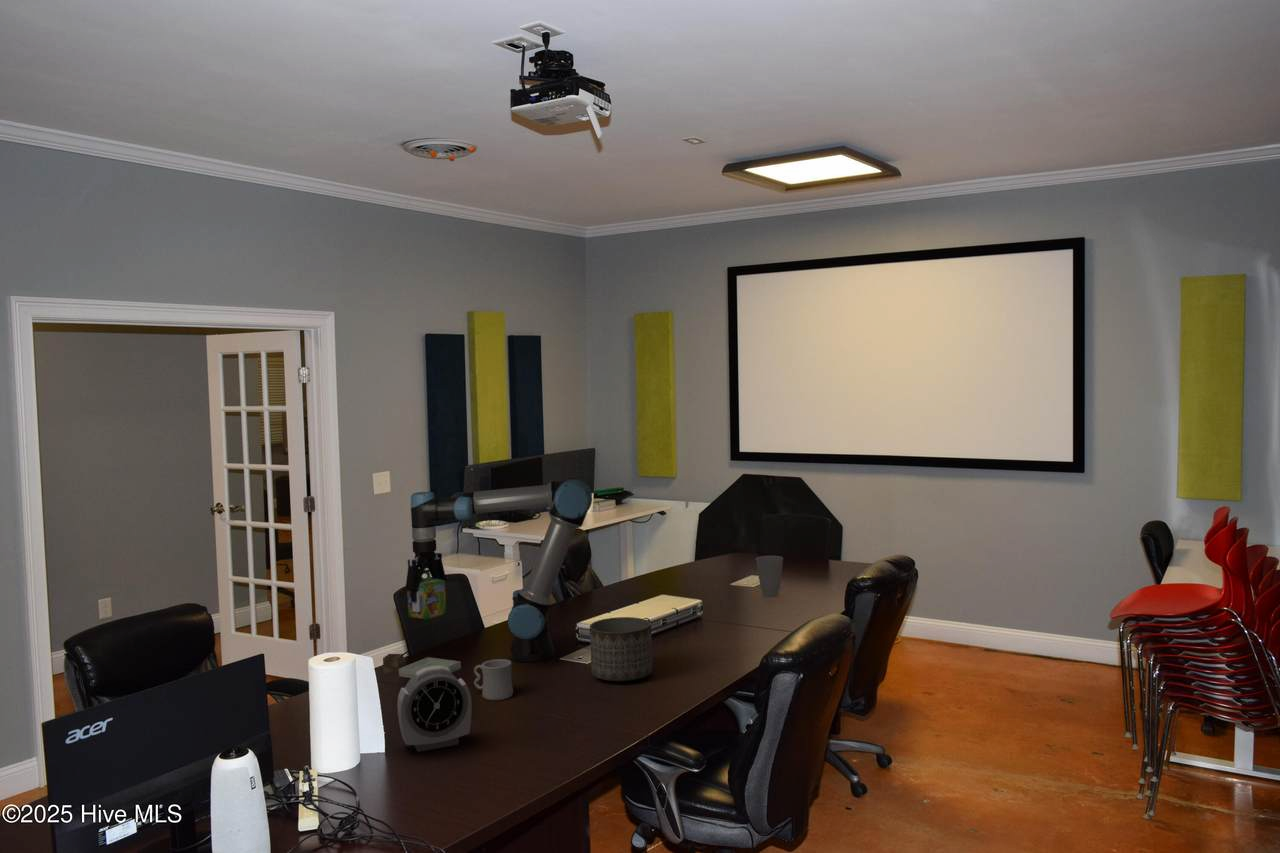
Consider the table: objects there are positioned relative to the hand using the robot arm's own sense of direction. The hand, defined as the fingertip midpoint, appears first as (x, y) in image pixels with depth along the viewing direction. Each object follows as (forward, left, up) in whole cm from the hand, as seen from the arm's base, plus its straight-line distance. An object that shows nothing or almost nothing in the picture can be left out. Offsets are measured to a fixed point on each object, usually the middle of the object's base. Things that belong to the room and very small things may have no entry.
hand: (427, 607), depth 300 cm
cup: (-65, -143, -22) cm, 159 cm away
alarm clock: (-44, +48, -22) cm, 69 cm away
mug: (-34, +11, -22) cm, 42 cm away
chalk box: (0, 0, -3) cm, 3 cm away
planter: (-61, -20, -22) cm, 68 cm away
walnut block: (+13, +3, -21) cm, 25 cm away
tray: (0, 0, -21) cm, 21 cm away
